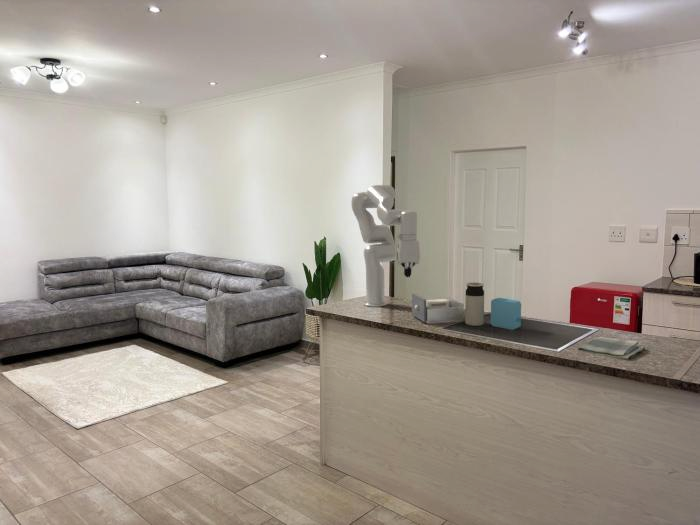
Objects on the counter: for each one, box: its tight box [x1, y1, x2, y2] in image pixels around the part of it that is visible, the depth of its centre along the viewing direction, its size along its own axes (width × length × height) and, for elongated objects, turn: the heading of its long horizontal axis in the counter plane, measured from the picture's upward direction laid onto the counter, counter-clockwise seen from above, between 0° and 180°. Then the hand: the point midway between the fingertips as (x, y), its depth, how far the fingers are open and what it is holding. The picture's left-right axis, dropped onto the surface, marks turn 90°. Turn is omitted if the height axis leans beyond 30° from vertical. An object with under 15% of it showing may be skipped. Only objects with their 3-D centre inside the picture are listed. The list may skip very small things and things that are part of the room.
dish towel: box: [577, 336, 646, 361], centre depth 195 cm, size 19×18×3 cm
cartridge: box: [426, 298, 449, 309], centre depth 246 cm, size 5×10×6 cm, turn 103°
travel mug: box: [464, 281, 485, 327], centre depth 235 cm, size 8×8×18 cm
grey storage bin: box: [424, 296, 465, 325], centre depth 247 cm, size 16×18×8 cm
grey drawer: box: [411, 293, 451, 323], centre depth 246 cm, size 15×18×10 cm
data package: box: [490, 297, 522, 331], centre depth 229 cm, size 12×4×12 cm, turn 43°
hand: (407, 276), depth 250 cm, fingers closed
